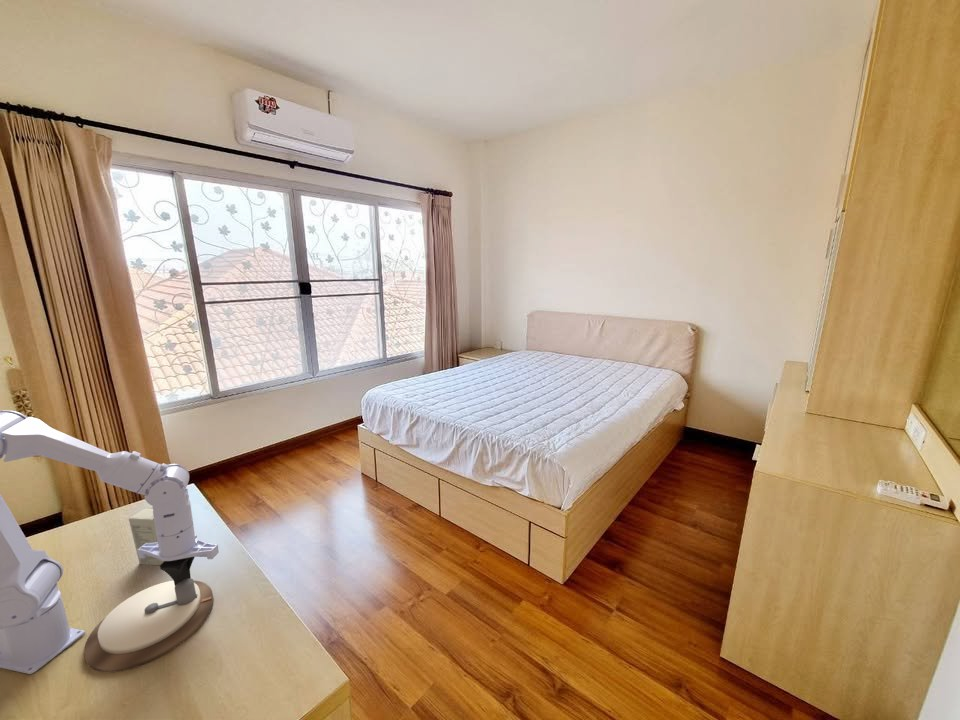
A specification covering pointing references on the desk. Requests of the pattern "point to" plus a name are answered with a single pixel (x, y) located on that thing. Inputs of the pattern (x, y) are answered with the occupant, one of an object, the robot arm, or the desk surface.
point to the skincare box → (144, 533)
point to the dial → (149, 616)
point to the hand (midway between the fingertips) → (184, 586)
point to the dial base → (127, 661)
